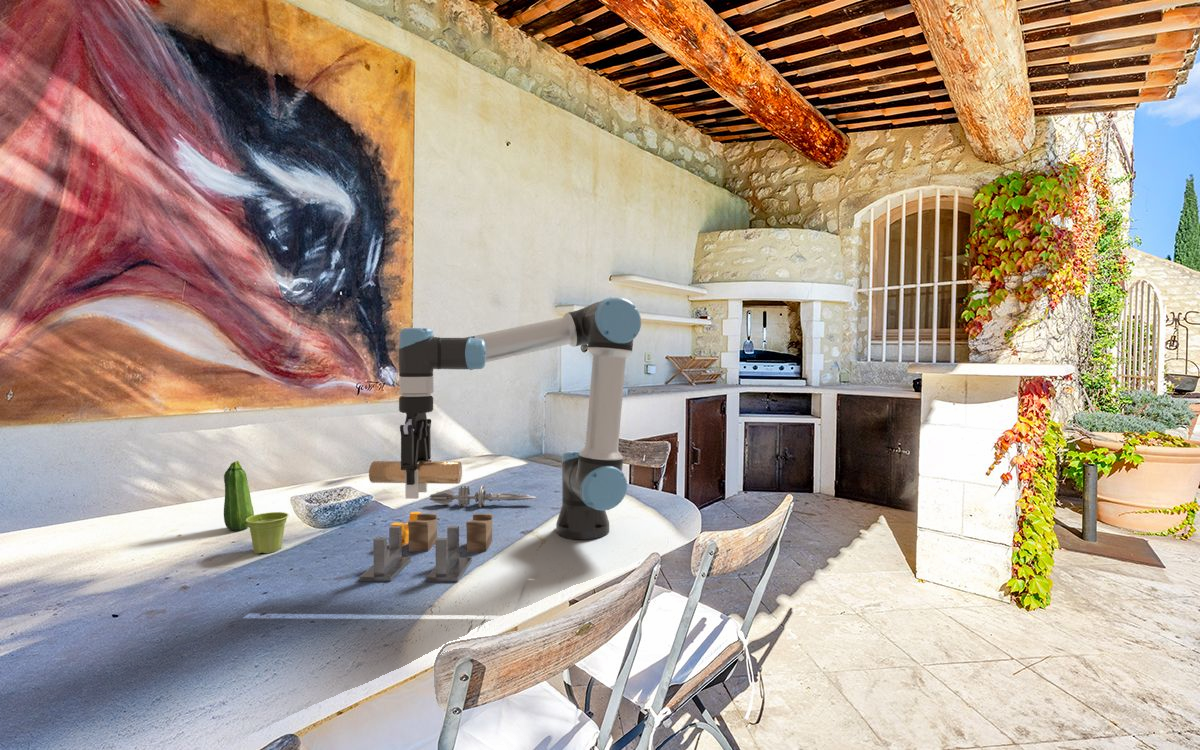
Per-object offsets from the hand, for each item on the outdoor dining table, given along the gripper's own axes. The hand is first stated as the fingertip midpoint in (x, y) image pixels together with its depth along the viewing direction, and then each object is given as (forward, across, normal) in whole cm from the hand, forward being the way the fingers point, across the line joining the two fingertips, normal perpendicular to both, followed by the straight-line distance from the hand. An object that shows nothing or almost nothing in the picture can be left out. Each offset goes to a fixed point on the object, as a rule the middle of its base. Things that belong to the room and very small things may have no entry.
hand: (416, 494), depth 124 cm
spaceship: (+18, -52, +3) cm, 55 cm away
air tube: (-5, 0, 0) cm, 5 cm away
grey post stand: (+18, 0, 0) cm, 18 cm away
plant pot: (+18, -13, -44) cm, 49 cm away
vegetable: (+18, -29, -63) cm, 72 cm away
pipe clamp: (+18, -21, -11) cm, 30 cm away
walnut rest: (+18, -16, +3) cm, 24 cm away
